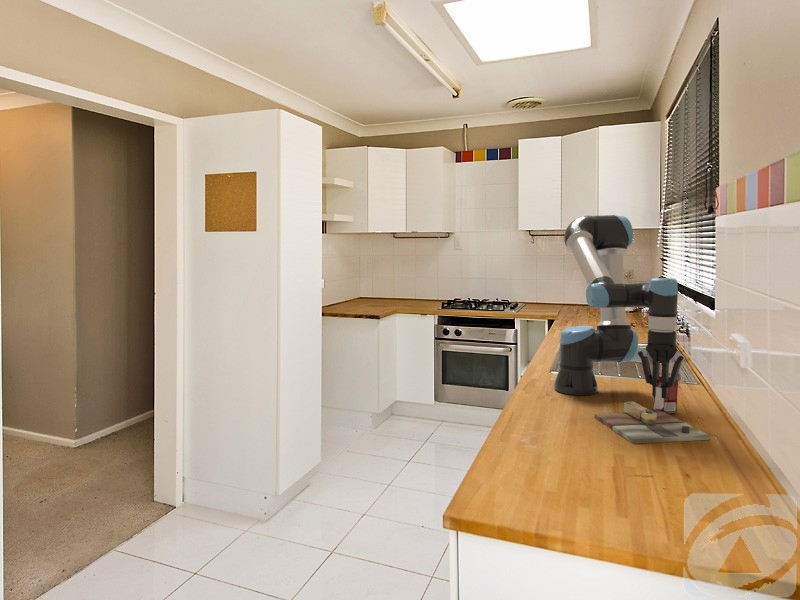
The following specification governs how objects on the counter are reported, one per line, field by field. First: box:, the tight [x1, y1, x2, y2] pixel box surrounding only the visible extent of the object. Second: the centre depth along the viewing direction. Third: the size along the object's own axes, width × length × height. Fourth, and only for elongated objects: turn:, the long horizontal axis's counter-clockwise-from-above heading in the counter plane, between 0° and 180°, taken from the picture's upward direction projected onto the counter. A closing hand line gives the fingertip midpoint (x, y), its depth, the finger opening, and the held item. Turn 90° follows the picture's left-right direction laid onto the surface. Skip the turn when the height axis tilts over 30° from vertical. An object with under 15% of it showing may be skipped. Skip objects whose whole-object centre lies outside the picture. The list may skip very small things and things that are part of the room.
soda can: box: [652, 372, 679, 415], centre depth 169 cm, size 7×7×12 cm
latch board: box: [594, 410, 711, 444], centre depth 154 cm, size 22×22×3 cm
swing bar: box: [623, 401, 657, 425], centre depth 159 cm, size 13×4×4 cm, turn 6°
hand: (659, 407), depth 160 cm, fingers closed
